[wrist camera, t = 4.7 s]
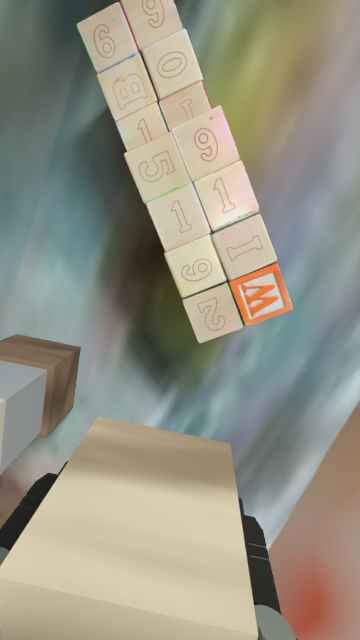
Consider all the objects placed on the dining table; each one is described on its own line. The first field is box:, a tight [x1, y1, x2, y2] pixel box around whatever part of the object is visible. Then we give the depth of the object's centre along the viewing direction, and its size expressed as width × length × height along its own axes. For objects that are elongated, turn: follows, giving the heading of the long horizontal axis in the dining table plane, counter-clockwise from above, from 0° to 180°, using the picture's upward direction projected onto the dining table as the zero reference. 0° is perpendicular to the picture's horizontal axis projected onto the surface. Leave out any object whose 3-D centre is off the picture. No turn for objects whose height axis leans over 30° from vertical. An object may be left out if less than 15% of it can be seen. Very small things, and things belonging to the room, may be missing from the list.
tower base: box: [0, 334, 81, 438], centre depth 31 cm, size 7×7×6 cm
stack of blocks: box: [77, 0, 293, 343], centre depth 24 cm, size 21×6×12 cm, turn 22°
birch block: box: [0, 416, 258, 640], centre depth 9 cm, size 5×5×6 cm
